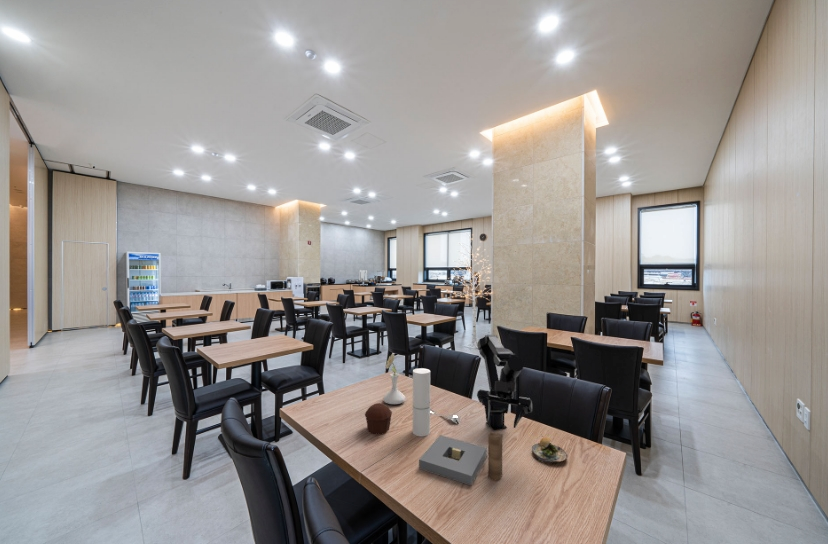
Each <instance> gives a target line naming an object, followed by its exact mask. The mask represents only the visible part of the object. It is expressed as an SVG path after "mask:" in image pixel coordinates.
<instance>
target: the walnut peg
mask: <svg viewBox="0 0 828 544" xmlns="http://www.w3.org/2000/svg"><path fill="white" fill-rule="evenodd" d="M487 438H488V439H487V440H488V441H487V442H488V447H487V457H488V458H487V462H488V463H487V466H488V467H487V471H488V472H487V476H488V478H489V480H492V481H495V482H496V481H497V482H498V481H500V480H501V479H502V477H503V434H501V433H497V432H494V431H489V433H488V437H487Z"/></svg>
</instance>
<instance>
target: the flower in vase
mask: <svg viewBox="0 0 828 544" xmlns="http://www.w3.org/2000/svg"><path fill="white" fill-rule="evenodd" d="M394 360H395V354H394V353H392V354H391V355H389V357H388V360H387V361H386V364H385V369H387V370H388V369H389V368H390V367H392V368H391V371H392V373H389V377H390V378H391V384H392V385H391V390H389V391H388V392H387V393H385V395H383V398H382V400H383V402H384V403H386V404H387V405H388V404H389V405H400V404H402V403H404V402H405V401H406V395H404V394H403V392H401V391H400V390H398V378H399V376H400V373H397V368H396V366H395V364H394Z"/></svg>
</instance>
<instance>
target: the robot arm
mask: <svg viewBox="0 0 828 544" xmlns="http://www.w3.org/2000/svg"><path fill="white" fill-rule="evenodd" d="M477 349H478V351H479V355H480V357H482V358H483V361H484V366H485V370H486V371H485V372H486V376H487V382H488V388H489V390H485V389H478V391H477V393H476V398H477V399H478V401H479V403H481V405H482V406H484V412H485V421H486V422H485V425H486V426H488V427H489V428H490V429H491V430H493V431H496V430H503V429H506V428H508V427H507V425H505V414H506V415H507V414H508V412H509V407H510V405H512V406H517V407H516V411H515V412H516V413H515V417H514V421H513V428H514V429H516V428H517V426H518V424H519V422H520V421H521V419H522V418H523V417H524V416H525V415H528V414H530V413H533V401H532V399H531V398H530V397H524V396H519V397H518V399H515V398H514V394H515V392H516V391H517V382H516V380H517V377H519V375H520V374H521V372H522V371H523V370H524V361H522V360H521V358H519V357H517V355H516V353H513V352H512V350H510V349H508V348H505V347H504V345H503V344H502V343H501V342H500V340H499V337H498V335H496V334H486V335H485V336H484V337H482V338H479V339H478V341H477ZM497 367H501V370H500V374H498V369H497Z"/></svg>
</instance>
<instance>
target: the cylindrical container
mask: <svg viewBox="0 0 828 544" xmlns="http://www.w3.org/2000/svg"><path fill="white" fill-rule="evenodd" d="M430 408H431V370H430V369H428V368H423V367H421V368H415V369H413V370H412V435H414V436H417V437H427V436H429V435H430V434H431V414H430V411H431V410H430Z"/></svg>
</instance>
